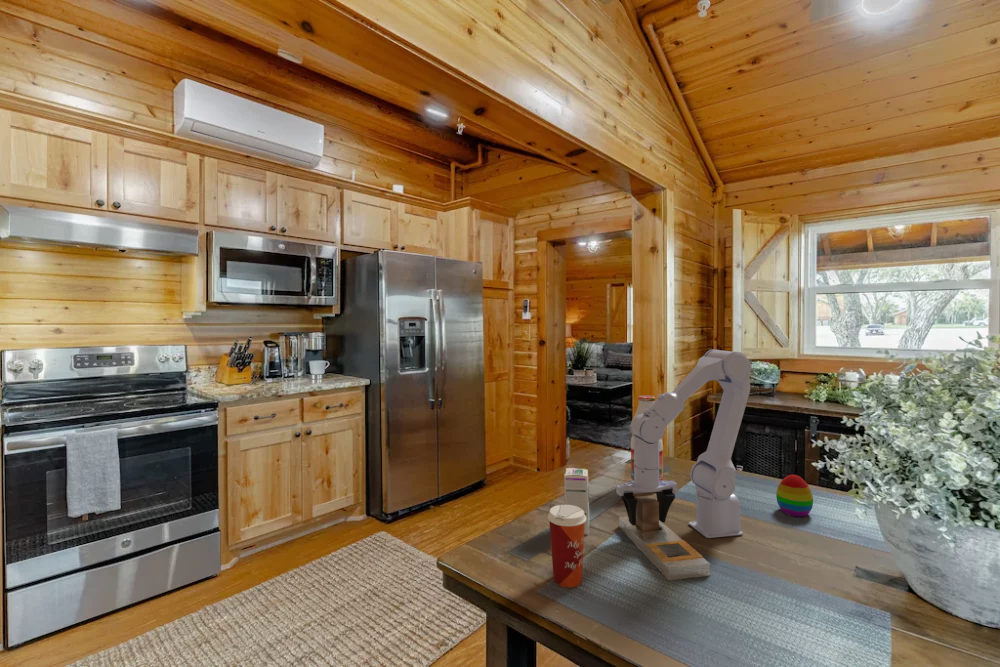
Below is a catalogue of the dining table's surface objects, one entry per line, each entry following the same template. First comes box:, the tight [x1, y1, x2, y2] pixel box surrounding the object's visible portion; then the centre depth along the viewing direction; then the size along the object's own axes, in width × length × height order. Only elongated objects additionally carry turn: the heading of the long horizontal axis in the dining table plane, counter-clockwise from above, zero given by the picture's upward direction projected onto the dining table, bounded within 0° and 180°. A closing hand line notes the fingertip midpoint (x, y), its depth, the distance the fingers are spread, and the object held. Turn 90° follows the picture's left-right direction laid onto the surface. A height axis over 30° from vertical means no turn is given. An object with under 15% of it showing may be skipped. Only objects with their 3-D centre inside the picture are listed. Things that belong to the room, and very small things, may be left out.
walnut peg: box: [635, 495, 659, 532], centre depth 110 cm, size 4×4×9 cm
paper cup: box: [547, 504, 586, 589], centre depth 93 cm, size 8×8×14 cm
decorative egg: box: [775, 474, 814, 517], centre depth 122 cm, size 8×8×10 cm
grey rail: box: [618, 515, 711, 581], centre depth 104 cm, size 9×24×3 cm, turn 9°
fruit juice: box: [630, 394, 664, 482], centre depth 142 cm, size 9×9×28 cm
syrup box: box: [563, 467, 590, 536], centre depth 115 cm, size 6×6×14 cm
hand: (647, 522), depth 110 cm, fingers open, 7 cm apart
